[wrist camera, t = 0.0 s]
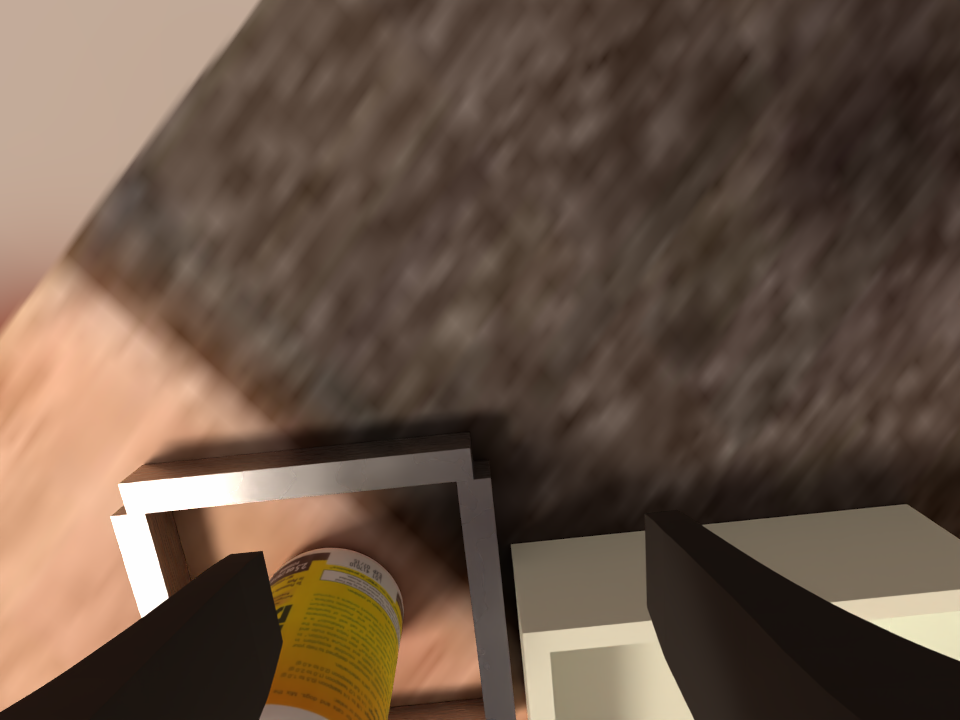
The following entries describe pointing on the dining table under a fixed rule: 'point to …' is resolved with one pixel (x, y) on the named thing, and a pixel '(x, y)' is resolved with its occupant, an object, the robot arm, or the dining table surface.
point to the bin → (771, 541)
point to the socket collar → (323, 472)
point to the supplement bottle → (335, 637)
